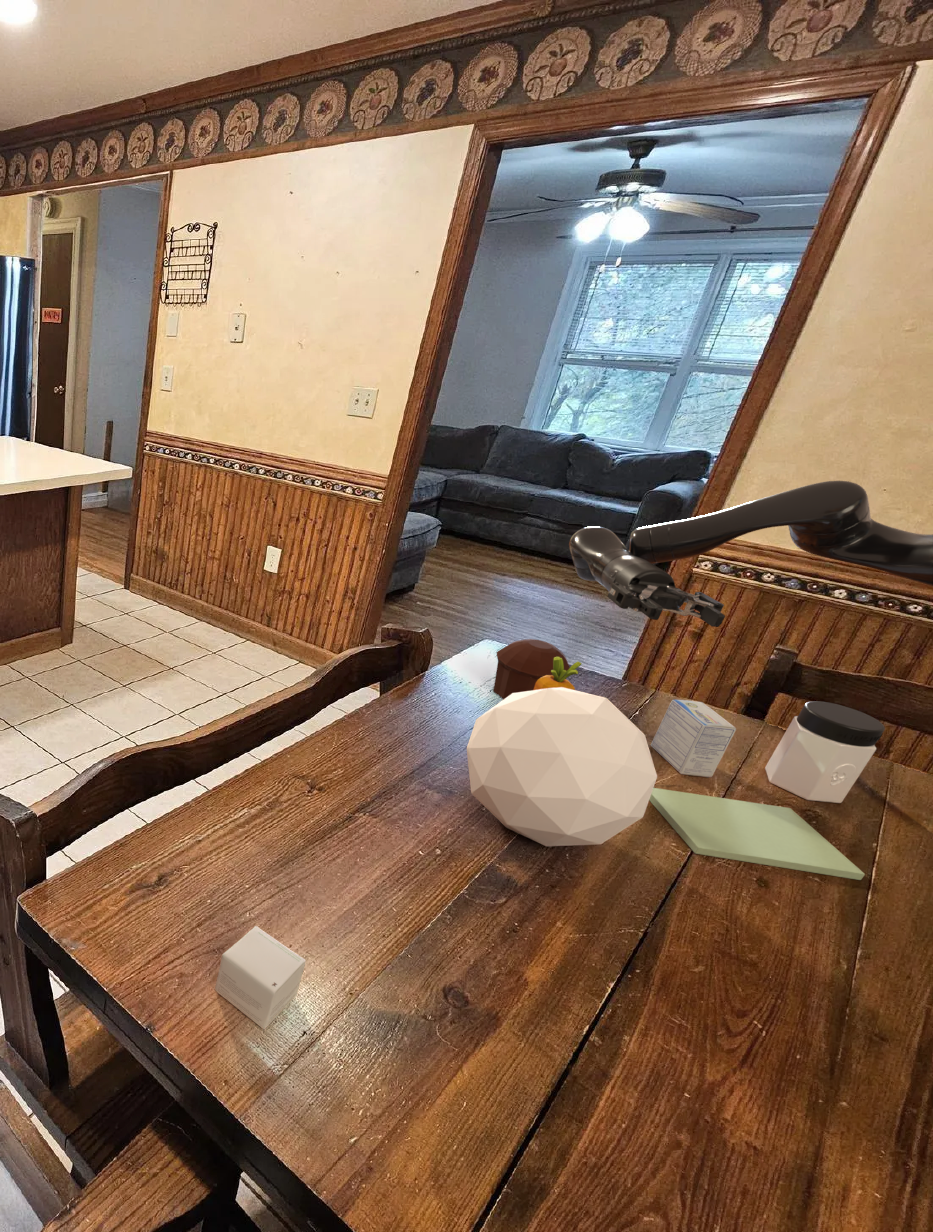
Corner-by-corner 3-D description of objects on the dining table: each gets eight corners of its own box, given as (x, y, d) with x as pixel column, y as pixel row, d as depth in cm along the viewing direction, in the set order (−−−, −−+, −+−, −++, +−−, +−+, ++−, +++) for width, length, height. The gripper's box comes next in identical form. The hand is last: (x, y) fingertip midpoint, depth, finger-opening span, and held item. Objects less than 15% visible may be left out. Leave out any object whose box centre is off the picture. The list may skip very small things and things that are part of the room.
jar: (791, 800, 101) (835, 727, 96) (747, 766, 108) (786, 697, 103) (859, 806, 101) (907, 734, 95) (810, 772, 108) (852, 703, 103)
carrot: (550, 741, 112) (585, 656, 105) (551, 756, 108) (587, 668, 102) (514, 731, 114) (546, 647, 108) (513, 745, 110) (547, 659, 104)
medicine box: (712, 779, 105) (739, 728, 101) (678, 774, 105) (704, 724, 102) (679, 749, 112) (703, 701, 108) (648, 745, 112) (671, 697, 109)
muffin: (501, 674, 133) (518, 625, 128) (567, 699, 125) (588, 647, 121) (473, 692, 126) (491, 640, 121) (542, 719, 118) (564, 665, 114)
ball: (496, 882, 93) (451, 791, 83) (483, 759, 106) (443, 668, 96) (685, 878, 81) (658, 773, 72) (644, 741, 95) (617, 636, 85)
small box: (298, 996, 68) (308, 959, 65) (264, 1032, 64) (274, 995, 62) (247, 958, 71) (255, 922, 69) (212, 991, 68) (220, 954, 65)
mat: (786, 813, 98) (790, 807, 98) (861, 880, 87) (865, 874, 86) (641, 791, 101) (644, 786, 101) (694, 853, 89) (698, 847, 89)
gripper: (672, 607, 126) (728, 645, 112) (583, 597, 128) (628, 633, 114) (690, 566, 123) (751, 601, 108) (599, 557, 125) (647, 589, 110)
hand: (688, 617), depth 111 cm, fingers open, 8 cm apart
